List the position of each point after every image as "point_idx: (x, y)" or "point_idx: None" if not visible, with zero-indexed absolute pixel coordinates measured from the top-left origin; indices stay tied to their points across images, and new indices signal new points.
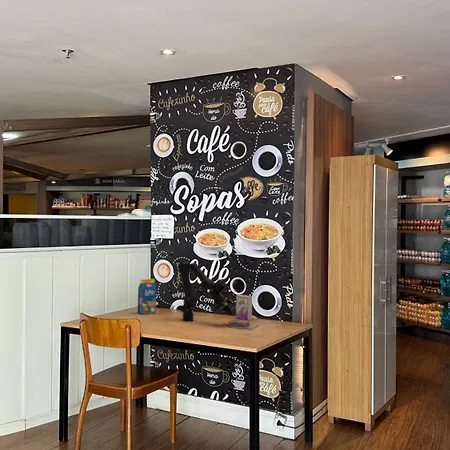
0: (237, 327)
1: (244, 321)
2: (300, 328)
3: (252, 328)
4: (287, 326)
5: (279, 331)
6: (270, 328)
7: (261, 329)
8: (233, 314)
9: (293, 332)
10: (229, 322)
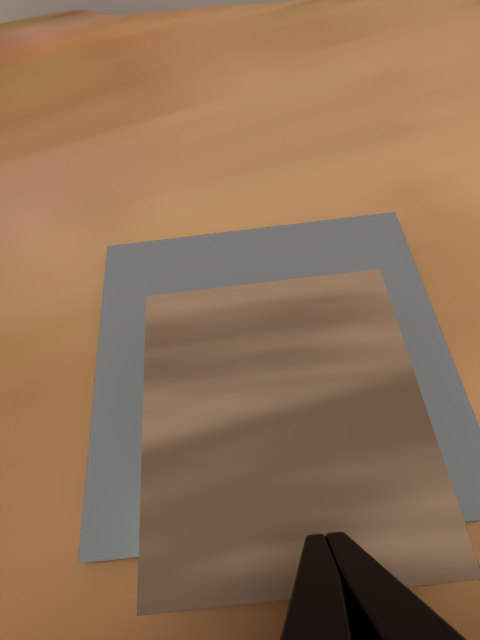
0: (454, 365)
1: (241, 331)
2: (95, 26)
3: (349, 221)
4: (36, 93)
5: (305, 56)
6: (205, 135)
7: (309, 162)
8: (306, 537)
9: (283, 4)
10: (465, 545)
